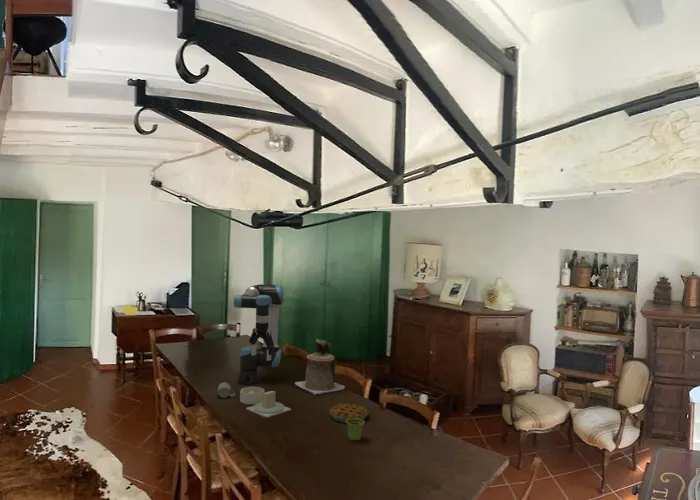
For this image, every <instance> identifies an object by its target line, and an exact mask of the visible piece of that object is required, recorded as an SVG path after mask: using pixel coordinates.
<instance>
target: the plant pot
mask: <svg viewBox="0 0 700 500" xmlns="http://www.w3.org/2000/svg"><path fill="white" fill-rule="evenodd" d="M365 422H366V421H365V420H361V419H357V418H351V419H347V420H346V425H347V435H348V436H347V437H348V439H349V441H350V440H351V441H360V440H361V438H362V432H363V427H364V424H365Z"/></svg>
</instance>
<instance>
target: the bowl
mask: <svg viewBox="0 0 700 500" xmlns="http://www.w3.org/2000/svg"><path fill="white" fill-rule="evenodd" d="M265 392H266V391H265V388H264V387H260V386H247V387H243V388H241V389H240V391H239V402H240V403H243V404H244V405H255V404H257V403H260V402H262V401H263V393H265Z"/></svg>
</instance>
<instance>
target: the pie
mask: <svg viewBox="0 0 700 500" xmlns="http://www.w3.org/2000/svg"><path fill="white" fill-rule="evenodd" d="M329 414H330V415H331V417H332V418H331V419H333V420H335V421H336V422H340V423H344V424H345V423H346V420H347V419H351V418H357V419H361V420H363V421H365V419H366V418H367V416H368V415H369V410H368V409H367V407H365V406H362V405H360V404H354V403H352V404H349V403H338V405H333V407H332V406H331V408H330V409H329ZM346 424H347V423H346Z"/></svg>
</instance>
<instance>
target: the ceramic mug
mask: <svg viewBox="0 0 700 500" xmlns="http://www.w3.org/2000/svg"><path fill="white" fill-rule="evenodd" d="M231 388H232V387H231V385H230V383H228V382H221V383H219V385H218V386H217V396H218V397H220V398H221V399H226V398H228V397H230V398H235V396H236V393H235V391H233V390H232V389H231Z"/></svg>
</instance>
